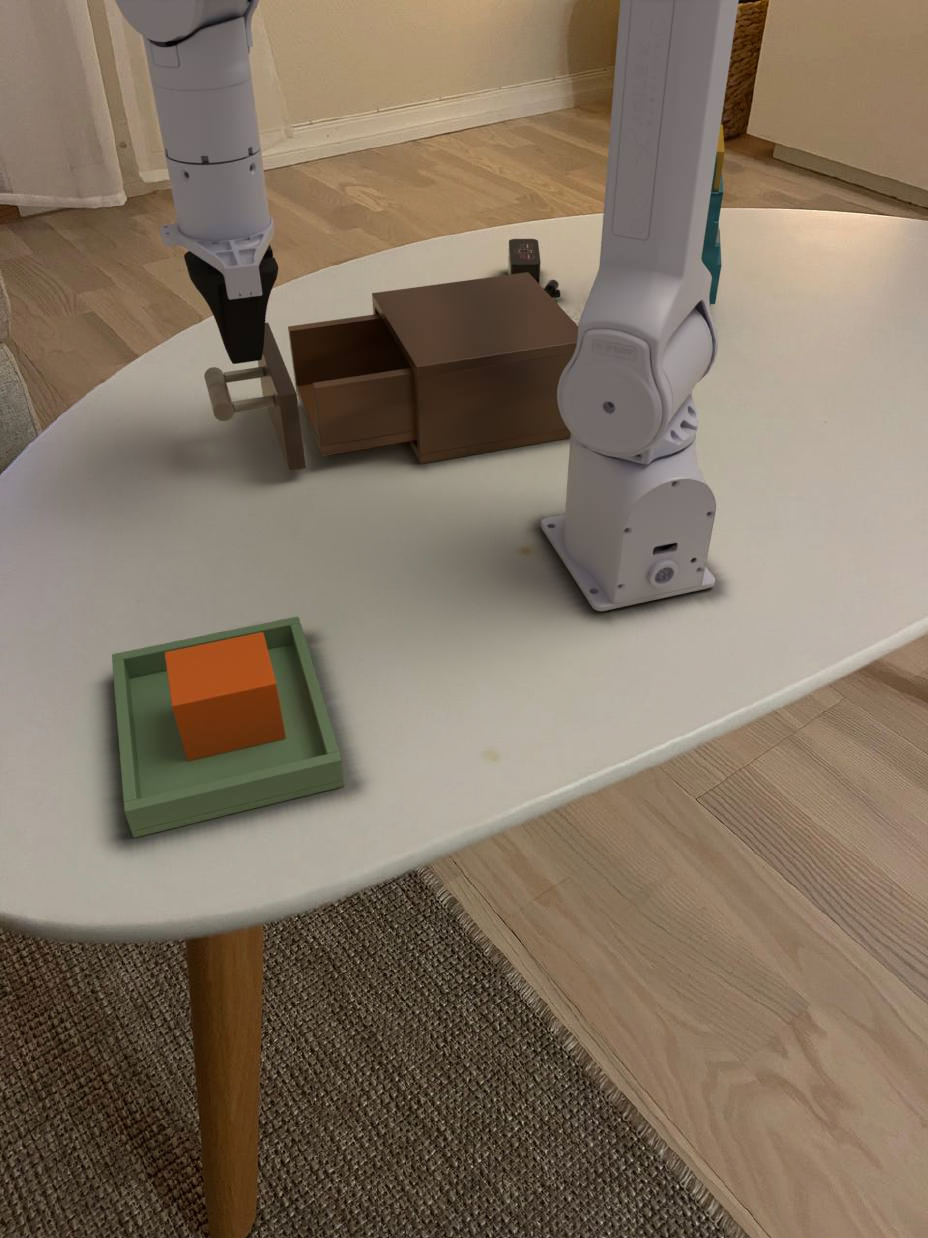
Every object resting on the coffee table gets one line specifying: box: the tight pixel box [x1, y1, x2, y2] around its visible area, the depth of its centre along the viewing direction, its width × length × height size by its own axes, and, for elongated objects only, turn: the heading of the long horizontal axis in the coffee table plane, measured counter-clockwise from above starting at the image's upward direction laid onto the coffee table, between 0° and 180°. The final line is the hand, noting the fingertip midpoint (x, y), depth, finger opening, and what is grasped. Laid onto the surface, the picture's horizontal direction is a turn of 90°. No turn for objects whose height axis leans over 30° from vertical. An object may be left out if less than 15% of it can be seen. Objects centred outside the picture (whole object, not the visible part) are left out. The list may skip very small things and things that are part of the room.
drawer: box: [203, 314, 417, 472], centre depth 73 cm, size 16×11×6 cm
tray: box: [111, 616, 346, 838], centre depth 52 cm, size 11×10×2 cm
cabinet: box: [371, 272, 578, 465], centre depth 76 cm, size 13×13×8 cm
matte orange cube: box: [165, 632, 286, 761], centre depth 51 cm, size 4×5×4 cm
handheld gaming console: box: [701, 123, 725, 306], centre depth 86 cm, size 10×4×15 cm, turn 170°
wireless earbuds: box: [507, 238, 561, 299], centre depth 95 cm, size 5×7×3 cm, turn 179°
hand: (245, 357), depth 70 cm, fingers closed
